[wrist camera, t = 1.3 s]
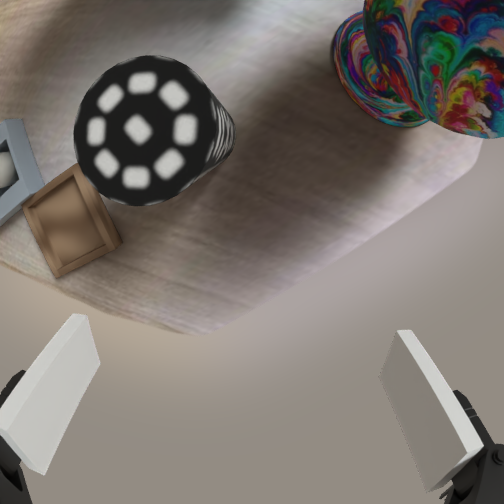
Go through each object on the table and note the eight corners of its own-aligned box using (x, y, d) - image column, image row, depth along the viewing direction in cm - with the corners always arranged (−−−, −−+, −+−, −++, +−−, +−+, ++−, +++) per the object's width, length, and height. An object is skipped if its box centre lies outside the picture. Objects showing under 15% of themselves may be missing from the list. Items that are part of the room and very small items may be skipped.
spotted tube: (251, 138, 33) (251, 132, 14) (196, 184, 35) (136, 236, 16) (204, 87, 31) (150, 28, 12) (151, 134, 32) (51, 135, 14)
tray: (30, 201, 35) (20, 204, 32) (85, 161, 33) (76, 163, 31) (64, 271, 39) (56, 278, 36) (122, 242, 37) (115, 249, 35)
